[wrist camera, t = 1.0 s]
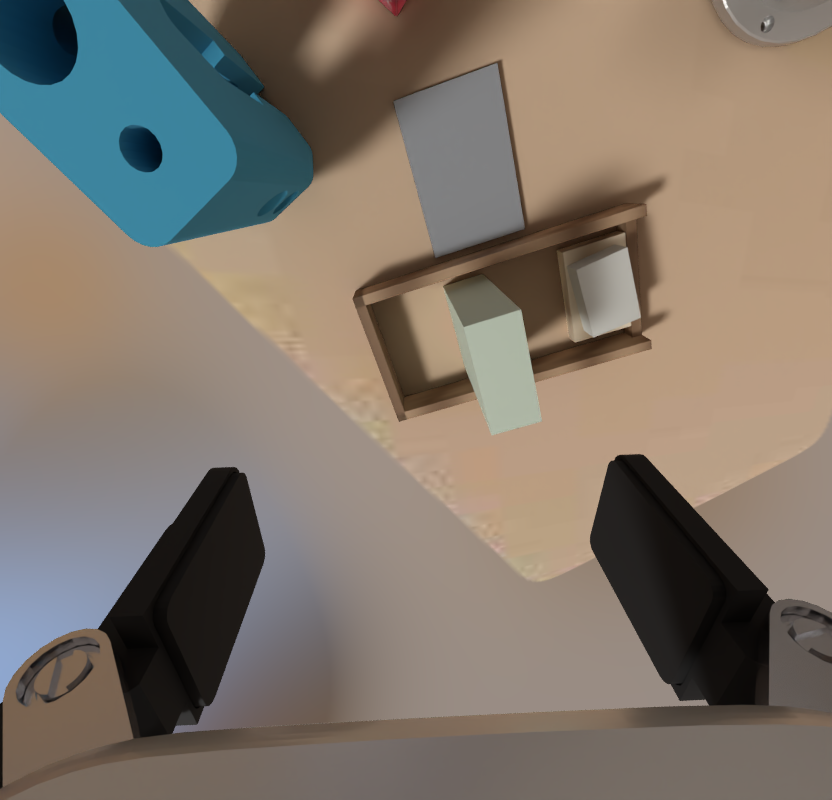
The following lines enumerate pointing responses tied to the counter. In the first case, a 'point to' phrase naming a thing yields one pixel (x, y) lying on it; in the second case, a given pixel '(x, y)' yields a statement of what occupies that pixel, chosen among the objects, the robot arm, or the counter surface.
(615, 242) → the offcut low
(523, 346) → the sage green box
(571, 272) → the offcut top
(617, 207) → the tray
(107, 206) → the block
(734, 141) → the counter surface
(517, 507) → the counter surface
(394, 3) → the ink box
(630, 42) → the counter surface
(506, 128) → the felt mat
